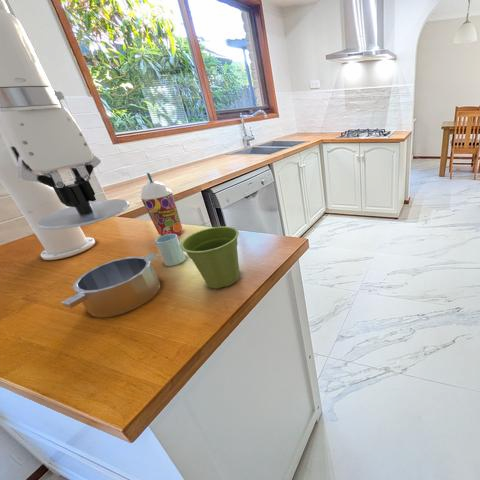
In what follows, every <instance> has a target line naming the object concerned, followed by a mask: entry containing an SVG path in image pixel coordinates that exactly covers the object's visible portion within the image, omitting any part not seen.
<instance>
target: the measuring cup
mask: <svg viewBox="0 0 480 480" xmlns="http://www.w3.org/2000/svg"><path fill="white" fill-rule="evenodd" d="M154 243H155V246H156V248H157V250H158V252H159V255H160V257H161V259H162V261H163V264H164V265H165V266H166V267H174V266H177V265H180V264H182V263H183V262H185V260H186V256H185V255H186V254H185V251H183V250H182V249H181V247H180V245H181V242H180V240H179V237H178V235H176V234H166V235H163V236H161V235H160V236H159V237H156V239H154Z"/></svg>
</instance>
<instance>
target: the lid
mask: <svg viewBox="0 0 480 480" xmlns="http://www.w3.org/2000/svg"><path fill="white" fill-rule="evenodd" d="M66 186H68V187H70V189H71V190H72V192H73V194H74V196H75V198H76V200H77V202H78V204H79V205H78V206H77V207H69V208H66V209H63V210H60V211H57V212H54V213H52V214H50V215H48V216H46V217H44V218H42V219H41V220H40V221H39V222H38V226H39V227H40V228H41V229H46V230H57V229H66V228H73V227H80V228H81V227H85V226H88V225H93V224H96V223H99V222H102V221H105V220H108V219H110V218H113V217H115V216H118V215H119V214H121V213H123V212H124V211H126V210H127V209H129V207H130V202H129V201H128V200H126V199H119V198H118V199H116V198H115V199H114V198H113V199H112V198H111V199H102V200H101V199H100V200H96V201H89V200H88V198H87V196H86V194H85V193H84V191H83V189H82V187H81V185H80V184H74V183H71V184H67V185H66Z"/></svg>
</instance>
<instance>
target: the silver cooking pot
mask: <svg viewBox="0 0 480 480" xmlns="http://www.w3.org/2000/svg"><path fill="white" fill-rule="evenodd" d="M159 258H160V257H159V255H158V254H157V253H152V252H149V253H148V254H146V255H145V256H141V255H140V256H139V255H136V256H125V257H121V258H117V259H113V260H110V261H108V262H105V263H102V264H100V265H98V266H96V267H93V268H92V269H90V270H88V271H86V272H84V273H83V274H82V275H80V276H79V277H77V279H76V280H75V281H74V283H73V284H72V288H73V290H74V292H75V294H74V295H71V296H70V297H68V298H66V299H64V300H63V301H61V304H62V306H63V307H66V308H70V309H73V308H75V307H76V306H78V305H80V304H81V303H82V304H83V306H84V308H85V309H86V311H87V312H88V314H90V315H91V316H92V317H94V318H111V317H116V316H120V315H122V314H125V313H128V312H131V311H133V310H135V309H138V308H140V307H141V306H143V305H145V304H146V303H148V302H150V300H152V299H153V298H154V297H155V296H156V295H157V294H158V292H159V291H160V289H161V282H160V279H159V277H158V275H157V273H156V271H155V269H154V266H153V264H152V262H154V261H156V260H158V259H159Z"/></svg>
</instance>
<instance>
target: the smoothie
mask: <svg viewBox="0 0 480 480" xmlns="http://www.w3.org/2000/svg"><path fill="white" fill-rule="evenodd" d="M146 175H147V177H148V181H149V182H148V183H146V184H145V185H144V186H142V188H141V191H140V196H139V198H140V200H141V202H142V204H143V206H144V208H145V210H146V211H147V214H148V216H149V217H150V221H152V223H153V225H154V228H155V229H156V231H157V233H158V235H160V236H163V235H166V234H176V235H177V236H179V235H180V234H181V233H182V231H183V230H182V229H183V225H182V221H181V218H180V216H179V212H178V209H177V204H176V201H175V198H174V194H173V190H171V189H170V188H169V187H168V186H167V185H166V184H164V183H162V182H159V181H153V179H152V176H151V173H150V172H147V173H146Z"/></svg>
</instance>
